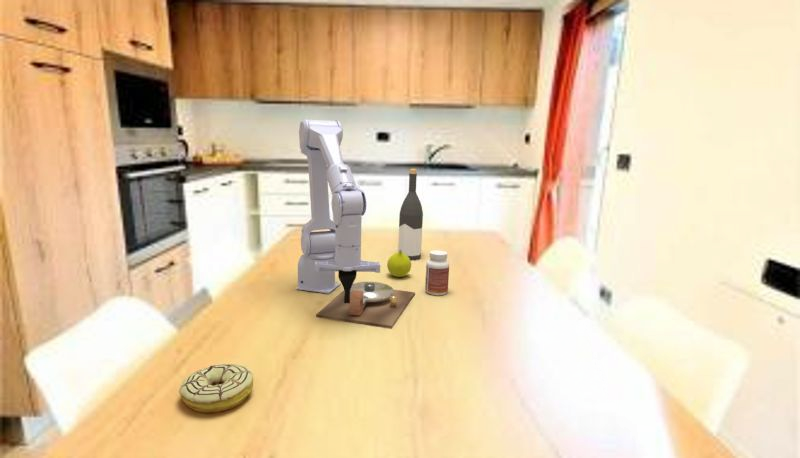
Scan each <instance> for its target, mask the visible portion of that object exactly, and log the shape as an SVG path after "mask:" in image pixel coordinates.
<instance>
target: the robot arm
mask: <svg viewBox="0 0 800 458" xmlns="http://www.w3.org/2000/svg"><path fill="white" fill-rule="evenodd" d="M343 131H344V129H343V125H342V123H341V121H339V120H338V119H336V120H323V119H321V120H320V119H307V118H302V120H301V121H300V123H299V129H298V135H299V136H298V138H299V140H298V141H299V148H300V153H301V154H302V155H304V156H306V158H307V159H306V160H307V164H308V168H307V169H308V181H309V183H308V184H309V197H310V213H311V219H310V220H309V221H308V222H307V223H305V224H304V225H303V226H302V227H301V235H300V236H301V237H300V248H301V249H300V250H301V252H302V254H301V256H300V257H299V259H298V261H297V287H296V290H299V291H300V290H301V291H308V292H315V293H322V294H331V293H332V292H333V291H334V290H336V288H338V287H339V286H340V285H342V288H343V291H345V297H344V303H350V289H351V287H352V284H354V283H355V281H356V278H357V273H358V272H359V273H360V272H361V273H362V272H363V273H364V272H365V273H366V272H367V273H368V272H369V273H371V272H372V273H376V274H380V273H381V262H380V261H366V260H362V259H361V258H362V256H361V255H362V217H363V216H364V215H365V214H366V212H367V198H366V194H365V192H364V190H363V189H362V188H360V186H357V183H356V181H355V177H354V175H353V173H352V169H351V167H350V166H349V165H347V164H346V163H344V160H343V155H342V150H341V145H342V144H341V143H342V141H343V138H344V137H343V136H344V132H343ZM329 189H330V192H331V195H332V196H331V204H330V196H329ZM330 205H331V211H332V219H331V216H330ZM320 230H322V231H320ZM324 230H325V231H324ZM336 272H338V275H337V276H338V277H337V278H338V280H339V281H340V282H338V281H337V282H336Z"/></svg>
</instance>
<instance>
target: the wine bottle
mask: <svg viewBox="0 0 800 458" xmlns="http://www.w3.org/2000/svg"><path fill="white" fill-rule="evenodd" d="M408 176H409V177H408V192H407V194H406V197H405V198H404V200H403V202H402V204H401V207H400V211H399V219H398V220H399V221H398V223H399V224H398V245H397V248H398V249H397V253H398V252H399V249H400V248H401V249H402V253H403V254H405V255H407V256H408V257H409V259H410V261H417V260H420V258H421V255H422V242H423V240H422V239H423V222H424V221H423V219H424V218H423V217H424V212H423V207H422V204H421V203H422V202H421V200H420V198H419V196H418V194H417V178H418V177H417V176H418V173H417V168H410V169H409V173H408Z"/></svg>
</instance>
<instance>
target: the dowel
mask: <svg viewBox="0 0 800 458" xmlns="http://www.w3.org/2000/svg"><path fill="white" fill-rule="evenodd" d="M396 303H397V296H395V295H391V296H390V307H391V308H396Z"/></svg>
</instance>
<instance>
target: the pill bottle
mask: <svg viewBox="0 0 800 458" xmlns="http://www.w3.org/2000/svg"><path fill="white" fill-rule="evenodd" d="M447 259H448V252H447V251H444V250H440V249H438V250H437V249H436V250H430V251H429V259H427V261H426V266H425V283H424V284H425V285H424V287H425V288H424V289H425V292H426V293H427V294H429V295H432V296H443V295H446V294H447V293H448V291H449V278H450V276H449V275H450V262H449V261H448V260H447Z"/></svg>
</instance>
